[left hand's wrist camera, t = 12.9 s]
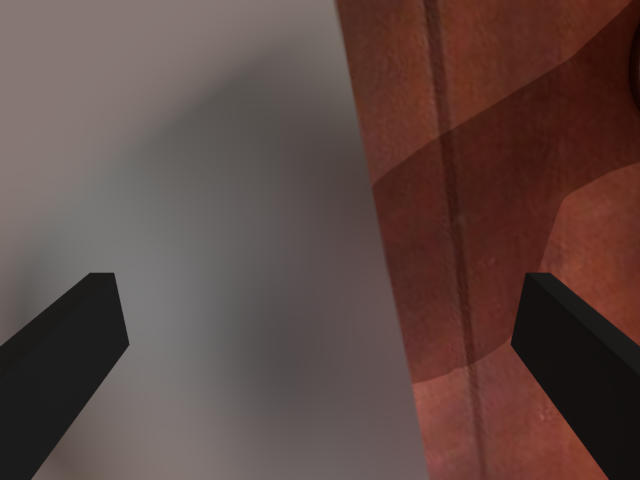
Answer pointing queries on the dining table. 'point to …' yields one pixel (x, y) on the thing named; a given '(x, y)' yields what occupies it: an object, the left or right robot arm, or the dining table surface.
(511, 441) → the dining table surface
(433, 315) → the dining table surface
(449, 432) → the dining table surface
